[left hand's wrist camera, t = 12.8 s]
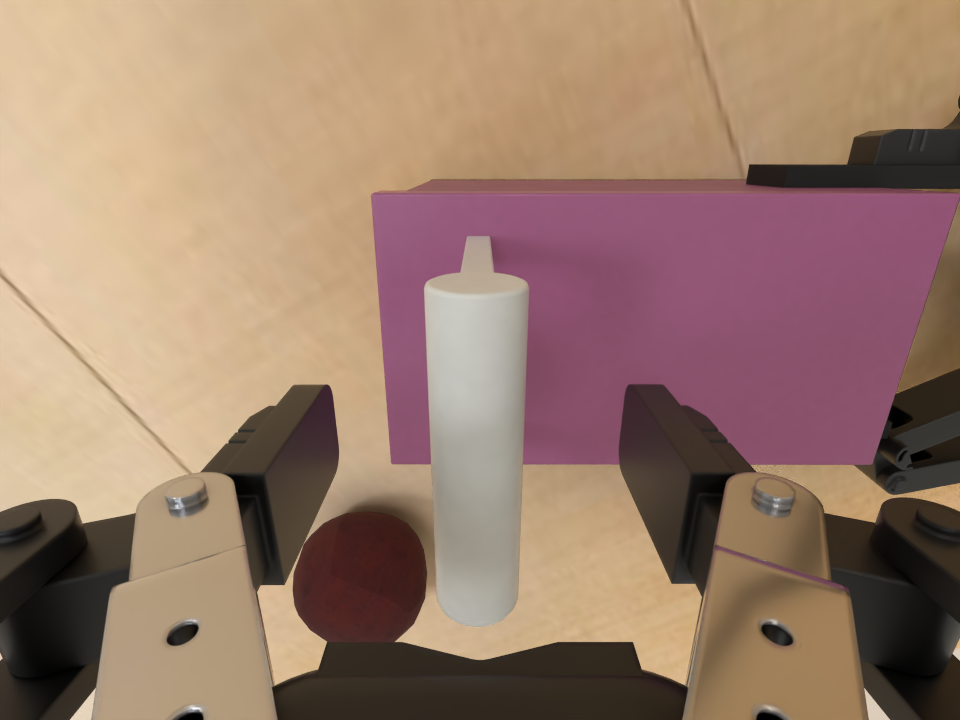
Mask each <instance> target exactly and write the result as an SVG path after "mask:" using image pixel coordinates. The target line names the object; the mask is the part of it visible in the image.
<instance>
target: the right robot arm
mask: <svg viewBox="0 0 960 720" xmlns="http://www.w3.org/2000/svg"><path fill="white" fill-rule="evenodd" d="M958 106H959V108H960V96H959V99H958ZM746 184H749V185H759V186H770V187H781V188H893V189H960V112H959V113H958V115H957V116H956V118H955V119H954V120H953V121H952V122H951V123H950V124H949V125H948V126H946V127H945V128H943V129H895V130H881V131H869V132H866V133H864V134H861V135H859V136H856V137H854V140H853V144H852V148H851V152H850V156H849V160H848V164H847V165H749V170H748V175H747V181H746ZM854 466H856V467H857V468H858V469H859V470H860V471H862V472H863V473H864V474H865V475H867V476H868V477H869V478H870V479H871V480H873V481H874V482H875V483H876V484H878V485H879V486H880V487H881V488H883V489H884V490H885V491H886V492H888V493H889V494H892V495H898V494H904V493H909V492H914V491H919V490H925V489H930V488H935V487H941V486H946V485H951V484H956V483H960V368H959V369H957V370H954V371H952V372H949V373H947V374H944V375H942V376H939V377H937V378H935V379H932V380H930V381H927V382H925V383H922V384H920V385H917V386H915V387H912V388H910V389H908V390H905V391H903V392H900V393H898V394H895V397H894V400H893V403H892V406H891V409H890V412H889V415H888V418H887V421H886V424H885V427H884V430H883V433H882V436H881V439H880V442H879V445H878V448H877V451H876V454H875V457H874V460H873V463H872V464H871V465H854Z"/></svg>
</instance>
